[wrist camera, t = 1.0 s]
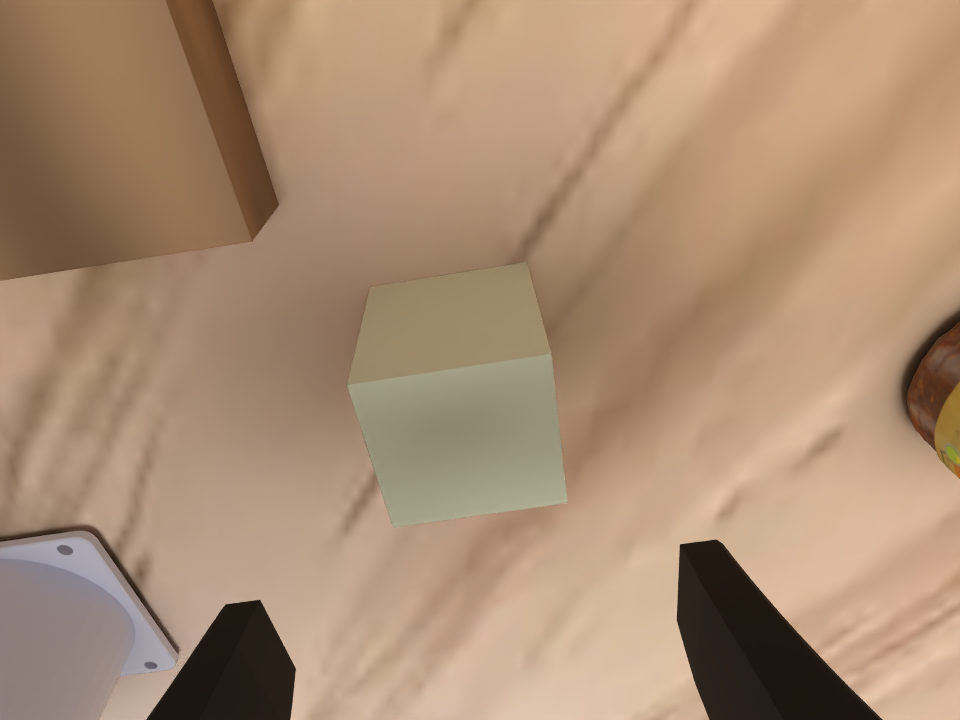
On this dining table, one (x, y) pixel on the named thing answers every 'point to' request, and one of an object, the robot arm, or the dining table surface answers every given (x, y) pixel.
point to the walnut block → (121, 135)
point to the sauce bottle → (939, 398)
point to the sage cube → (458, 396)
